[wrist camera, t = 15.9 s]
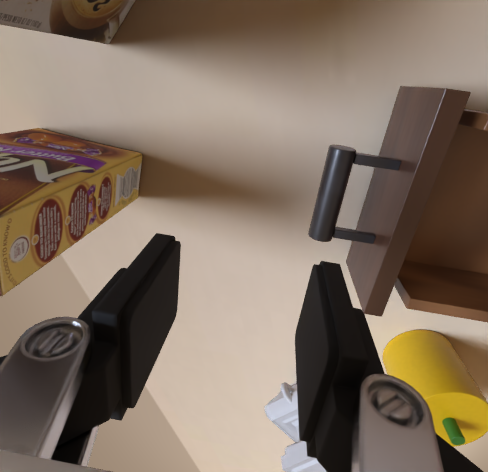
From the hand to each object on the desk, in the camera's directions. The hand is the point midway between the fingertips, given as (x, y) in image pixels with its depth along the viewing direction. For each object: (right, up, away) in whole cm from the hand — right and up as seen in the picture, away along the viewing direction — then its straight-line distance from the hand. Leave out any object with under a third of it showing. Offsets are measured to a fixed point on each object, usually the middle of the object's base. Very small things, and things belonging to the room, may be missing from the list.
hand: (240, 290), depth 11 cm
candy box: (-13, +8, +17) cm, 23 cm away
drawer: (+15, +5, +14) cm, 21 cm away
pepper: (+17, -10, +22) cm, 29 cm away
